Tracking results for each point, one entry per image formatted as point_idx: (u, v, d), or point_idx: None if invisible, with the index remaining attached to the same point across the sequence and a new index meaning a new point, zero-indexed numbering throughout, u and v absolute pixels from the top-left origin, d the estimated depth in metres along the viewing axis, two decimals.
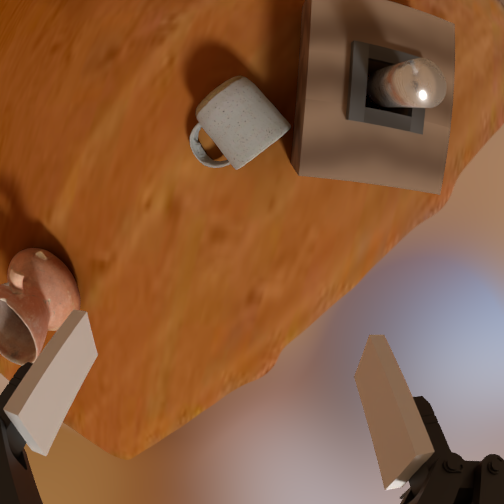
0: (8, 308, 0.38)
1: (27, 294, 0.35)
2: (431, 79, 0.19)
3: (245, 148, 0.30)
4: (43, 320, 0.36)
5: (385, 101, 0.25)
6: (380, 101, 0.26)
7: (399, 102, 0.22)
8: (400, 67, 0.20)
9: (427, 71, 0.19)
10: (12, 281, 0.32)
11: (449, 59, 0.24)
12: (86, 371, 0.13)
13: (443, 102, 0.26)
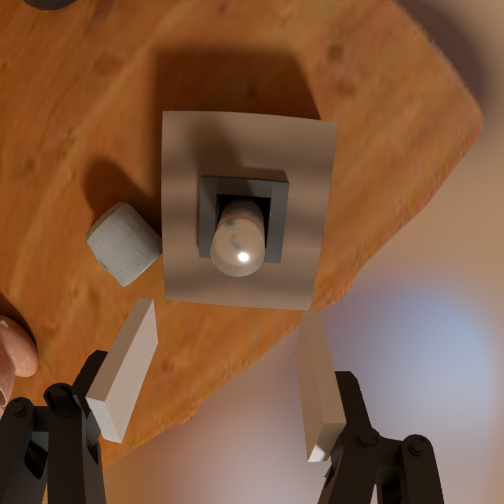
0: None
1: None
2: (245, 247, 0.24)
3: (121, 277, 0.35)
4: (9, 376, 0.40)
5: None
6: None
7: None
8: (215, 234, 0.24)
9: (240, 240, 0.23)
10: None
11: (324, 171, 0.29)
12: (150, 358, 0.15)
13: (312, 223, 0.31)
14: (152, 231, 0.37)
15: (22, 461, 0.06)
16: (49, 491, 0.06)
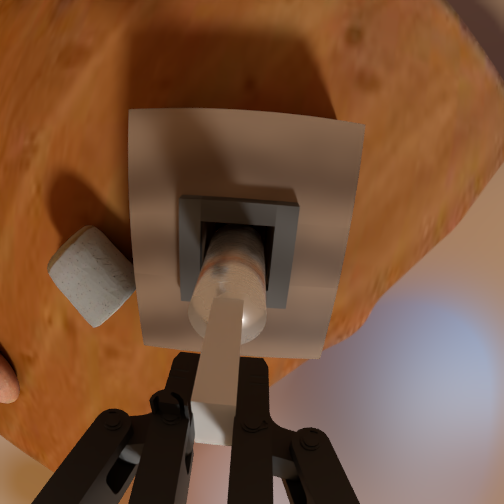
0: None
1: None
2: None
3: (88, 318, 0.27)
4: None
5: None
6: None
7: None
8: (195, 288, 0.17)
9: None
10: None
11: (346, 190, 0.21)
12: None
13: (328, 257, 0.24)
14: (124, 262, 0.30)
15: (103, 478, 0.07)
16: (132, 498, 0.06)
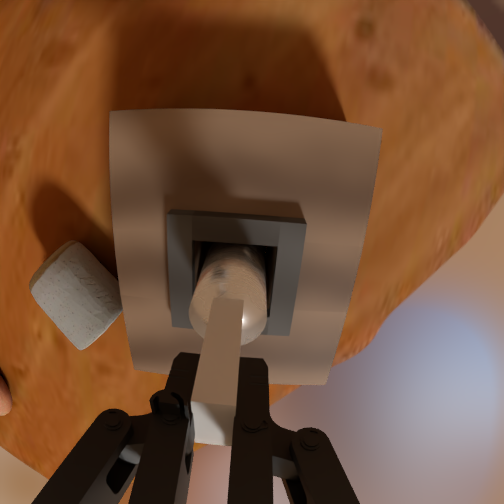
0: None
1: None
2: None
3: (73, 340, 0.25)
4: None
5: None
6: None
7: None
8: (195, 289, 0.17)
9: None
10: None
11: (359, 204, 0.19)
12: None
13: (337, 279, 0.21)
14: (110, 281, 0.27)
15: (103, 478, 0.07)
16: (132, 498, 0.06)
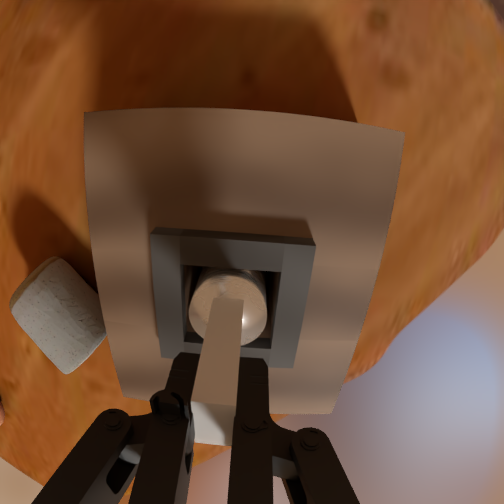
0: None
1: None
2: None
3: (56, 365, 0.22)
4: None
5: None
6: None
7: None
8: (195, 289, 0.17)
9: None
10: None
11: (377, 221, 0.16)
12: None
13: (348, 306, 0.18)
14: (94, 301, 0.24)
15: (103, 478, 0.07)
16: (132, 498, 0.06)
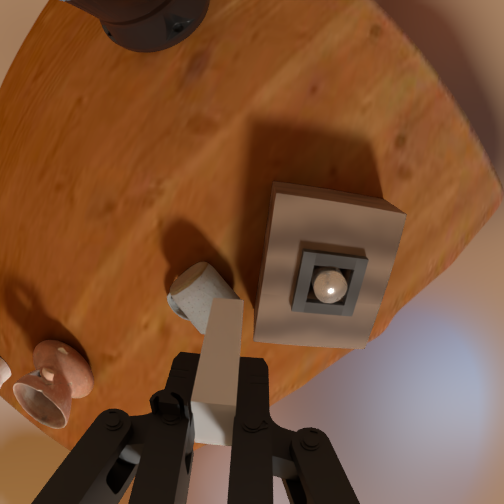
0: None
1: (56, 383, 0.46)
2: (336, 286, 0.37)
3: (204, 327, 0.43)
4: (69, 400, 0.47)
5: None
6: None
7: None
8: (316, 276, 0.38)
9: (334, 281, 0.37)
10: (45, 376, 0.43)
11: (392, 250, 0.37)
12: None
13: (377, 287, 0.39)
14: (230, 289, 0.45)
15: (103, 478, 0.07)
16: (132, 498, 0.06)
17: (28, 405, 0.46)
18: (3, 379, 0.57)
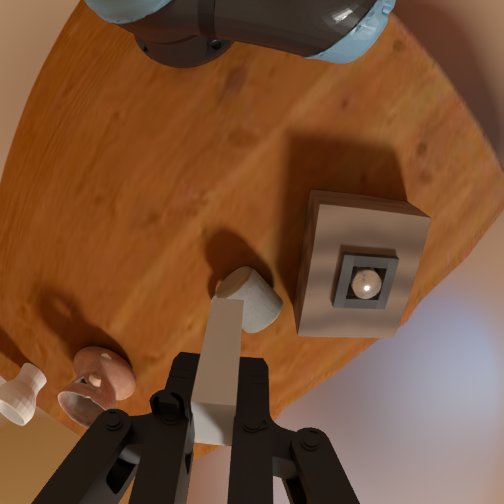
0: None
1: (102, 388, 0.51)
2: (372, 283, 0.41)
3: (251, 327, 0.47)
4: (115, 403, 0.52)
5: None
6: None
7: None
8: (354, 276, 0.42)
9: (370, 279, 0.41)
10: (92, 383, 0.48)
11: (418, 249, 0.41)
12: None
13: (406, 282, 0.43)
14: (272, 290, 0.49)
15: (103, 477, 0.07)
16: (132, 498, 0.06)
17: (72, 411, 0.51)
18: (39, 387, 0.63)
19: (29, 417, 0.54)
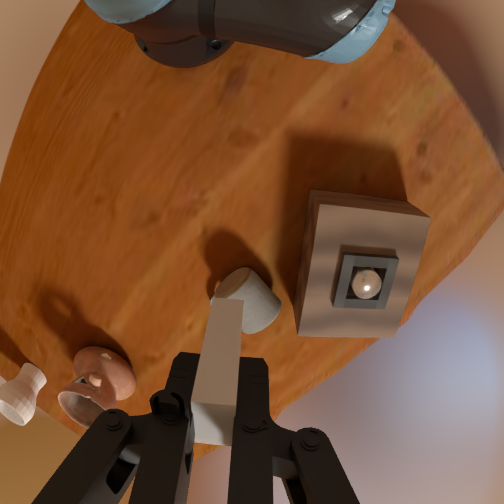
0: None
1: (102, 388, 0.51)
2: (372, 283, 0.41)
3: (250, 328, 0.47)
4: (115, 403, 0.52)
5: None
6: None
7: None
8: (354, 276, 0.42)
9: (370, 279, 0.41)
10: (92, 383, 0.48)
11: (418, 249, 0.41)
12: None
13: (406, 282, 0.43)
14: (271, 291, 0.49)
15: (103, 477, 0.07)
16: (132, 498, 0.06)
17: (73, 411, 0.51)
18: (39, 387, 0.63)
19: (29, 417, 0.54)
